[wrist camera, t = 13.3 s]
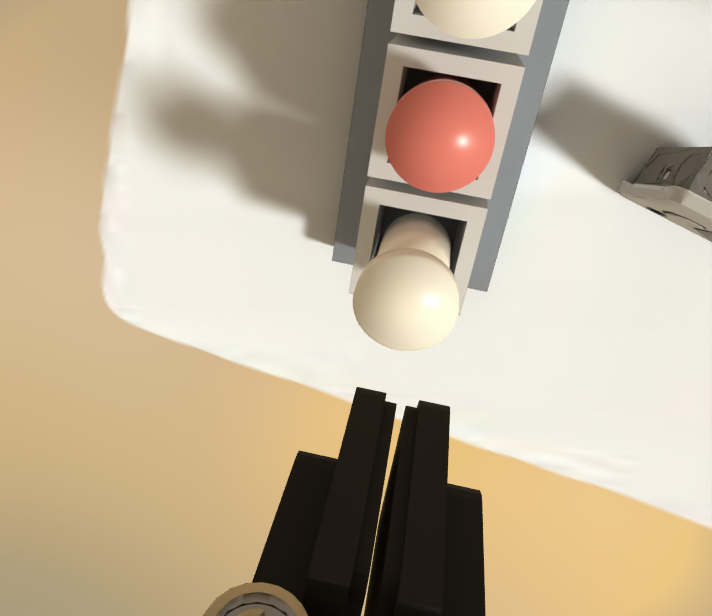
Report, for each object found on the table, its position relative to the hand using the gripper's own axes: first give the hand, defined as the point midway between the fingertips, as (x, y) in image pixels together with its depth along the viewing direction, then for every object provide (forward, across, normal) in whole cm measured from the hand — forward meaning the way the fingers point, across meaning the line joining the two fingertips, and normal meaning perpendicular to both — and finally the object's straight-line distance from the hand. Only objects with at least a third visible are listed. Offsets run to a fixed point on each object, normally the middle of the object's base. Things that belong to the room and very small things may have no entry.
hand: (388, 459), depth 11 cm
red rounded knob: (+32, 0, 0) cm, 32 cm away
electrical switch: (+37, -18, +3) cm, 42 cm away
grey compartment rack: (+37, 0, 0) cm, 37 cm away
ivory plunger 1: (+29, 0, +8) cm, 30 cm away
